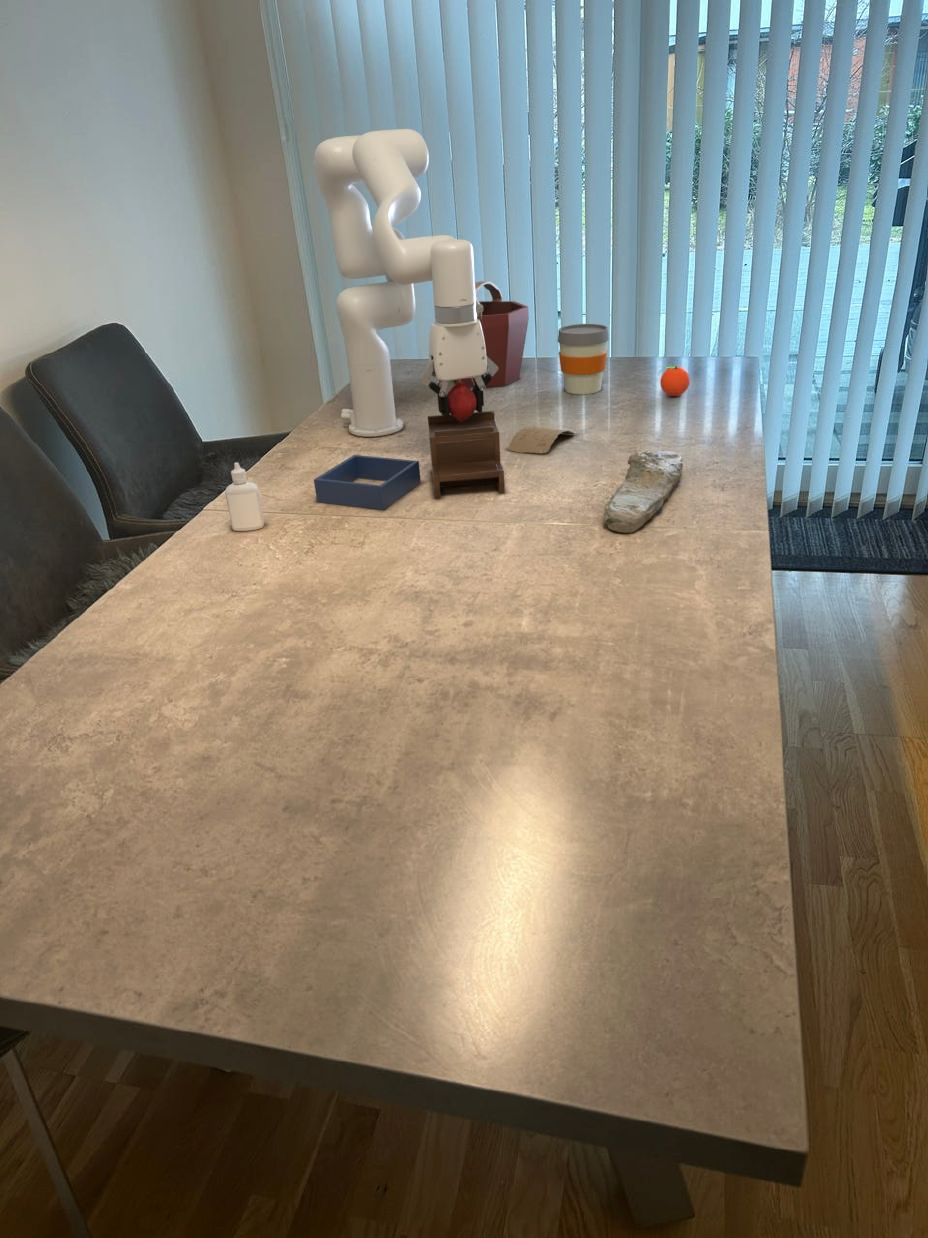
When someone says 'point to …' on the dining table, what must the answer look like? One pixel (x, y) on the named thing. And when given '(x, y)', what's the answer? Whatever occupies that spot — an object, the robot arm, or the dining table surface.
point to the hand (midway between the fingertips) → (461, 412)
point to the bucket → (502, 335)
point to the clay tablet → (535, 439)
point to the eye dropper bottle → (243, 502)
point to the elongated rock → (643, 490)
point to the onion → (461, 401)
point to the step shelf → (465, 451)
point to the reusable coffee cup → (583, 356)
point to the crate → (343, 491)
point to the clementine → (674, 381)
